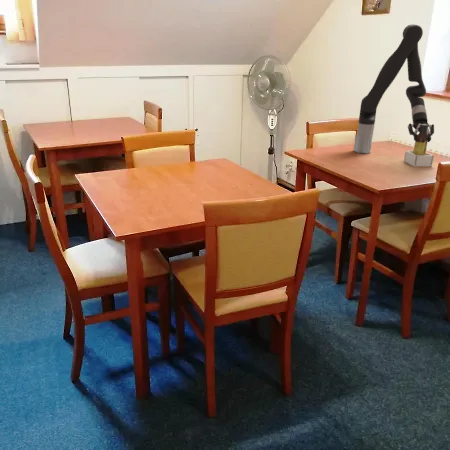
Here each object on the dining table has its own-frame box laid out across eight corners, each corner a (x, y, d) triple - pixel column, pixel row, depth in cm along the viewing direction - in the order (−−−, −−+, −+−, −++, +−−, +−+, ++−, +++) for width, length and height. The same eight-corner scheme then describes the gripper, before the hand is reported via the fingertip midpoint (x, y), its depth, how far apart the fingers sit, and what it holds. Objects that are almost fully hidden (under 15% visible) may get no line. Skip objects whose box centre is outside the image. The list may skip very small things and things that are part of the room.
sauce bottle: (424, 162, 253) (432, 126, 245) (412, 161, 254) (419, 125, 246) (422, 159, 259) (429, 123, 251) (410, 158, 260) (417, 123, 252)
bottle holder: (414, 166, 251) (416, 155, 249) (403, 161, 261) (405, 150, 259) (431, 166, 252) (433, 155, 250) (420, 160, 263) (422, 150, 260)
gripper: (408, 110, 253) (412, 136, 247) (435, 111, 253) (439, 137, 247) (403, 119, 260) (407, 144, 254) (429, 119, 260) (433, 145, 254)
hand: (422, 140), depth 250 cm, fingers closed on sauce bottle, 6 cm apart
